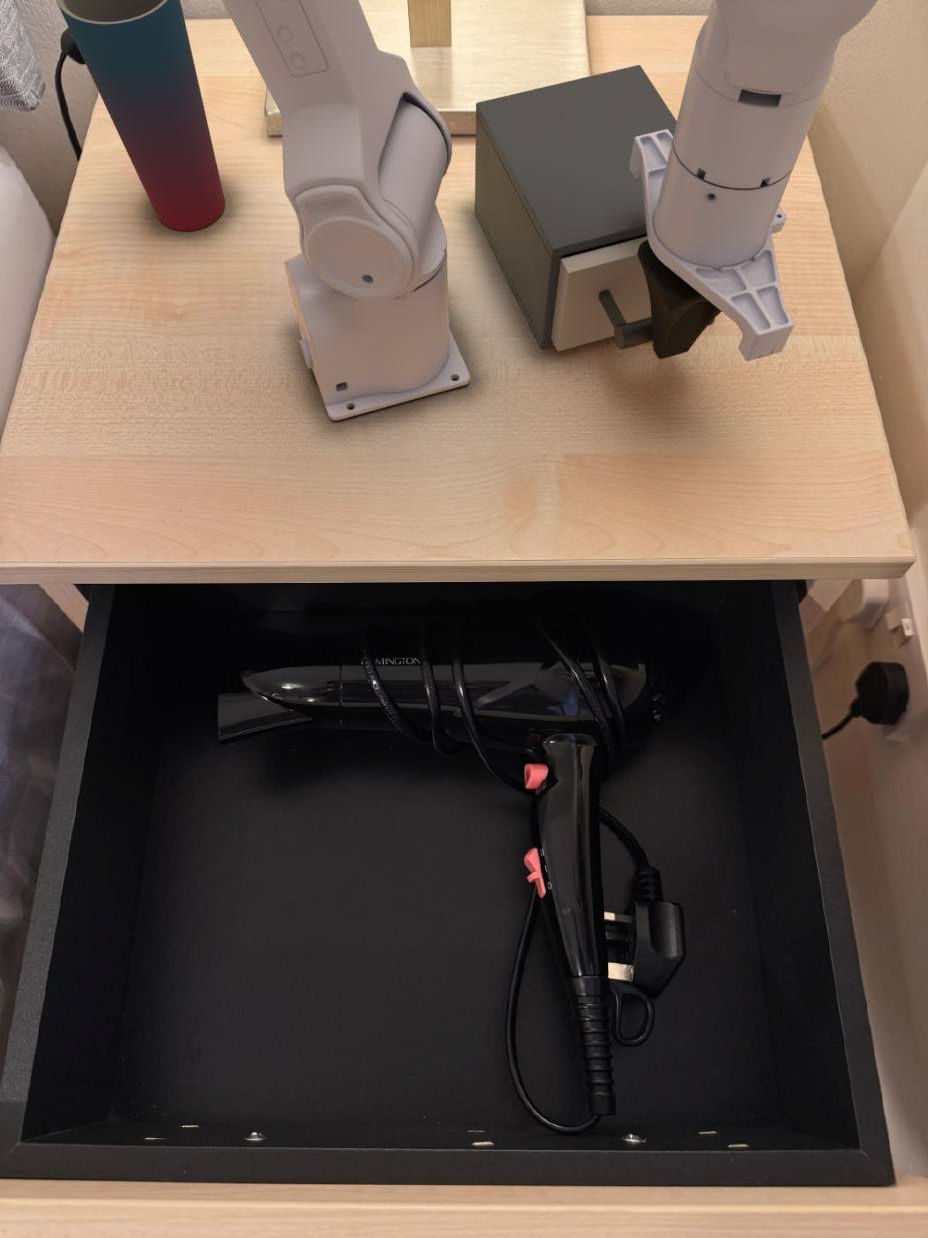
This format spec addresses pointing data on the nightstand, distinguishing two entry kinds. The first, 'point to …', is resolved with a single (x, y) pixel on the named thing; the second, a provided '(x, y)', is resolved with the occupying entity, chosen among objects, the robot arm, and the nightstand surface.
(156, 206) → the cup
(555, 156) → the cabinet
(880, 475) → the nightstand surface
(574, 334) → the drawer
